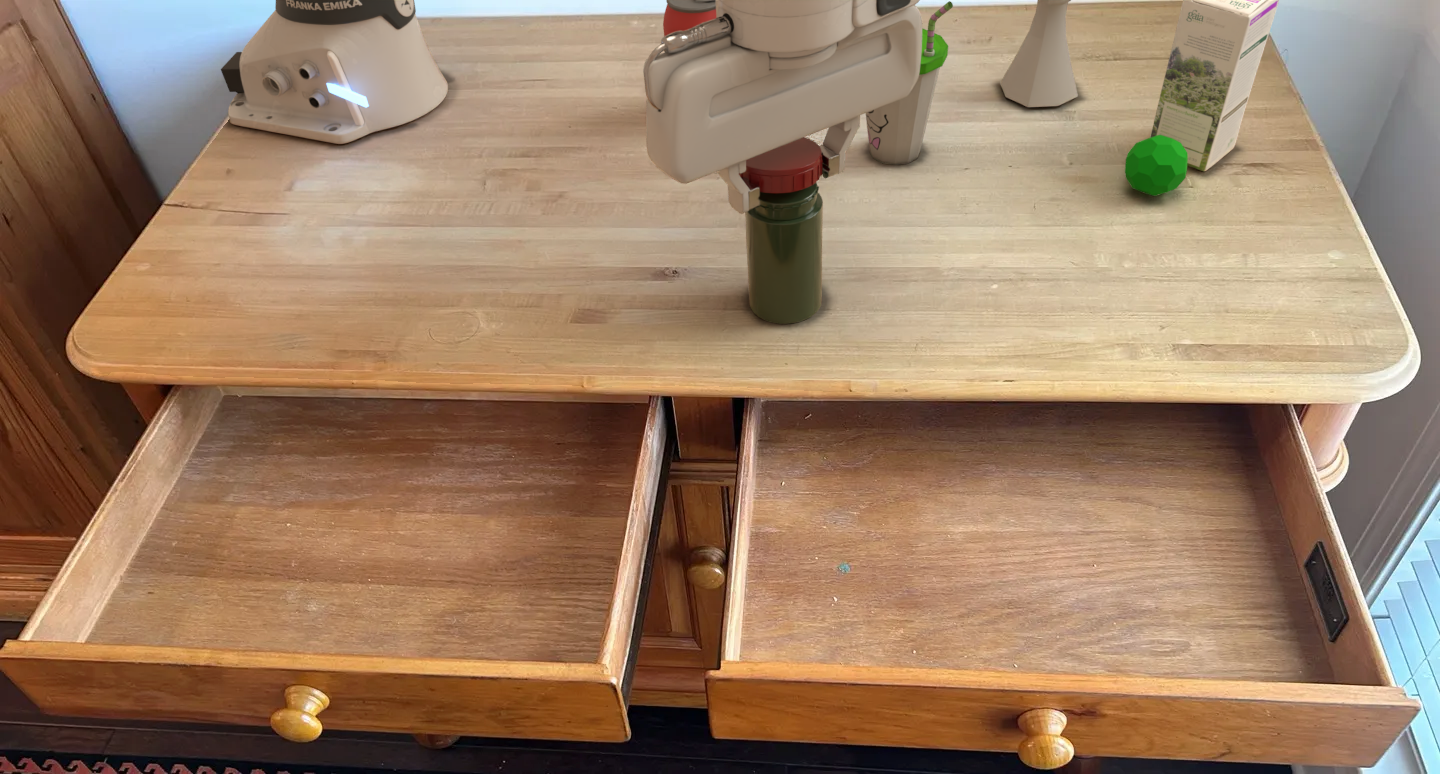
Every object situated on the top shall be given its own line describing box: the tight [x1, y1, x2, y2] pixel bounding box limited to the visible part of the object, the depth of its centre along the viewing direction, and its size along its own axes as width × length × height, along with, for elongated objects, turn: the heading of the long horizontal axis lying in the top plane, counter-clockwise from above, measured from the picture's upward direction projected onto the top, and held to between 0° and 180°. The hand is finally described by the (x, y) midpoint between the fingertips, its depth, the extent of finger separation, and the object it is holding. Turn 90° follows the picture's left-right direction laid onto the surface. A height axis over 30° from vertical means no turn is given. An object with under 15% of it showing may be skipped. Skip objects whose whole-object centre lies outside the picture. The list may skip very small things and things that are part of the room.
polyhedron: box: [1124, 135, 1188, 197], centre depth 89 cm, size 5×5×5 cm
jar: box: [744, 181, 824, 325], centre depth 78 cm, size 6×6×10 cm
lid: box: [739, 137, 823, 193], centre depth 74 cm, size 6×6×2 cm
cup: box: [865, 1, 954, 166], centre depth 92 cm, size 8×8×15 cm
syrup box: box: [1149, 0, 1280, 172], centre depth 90 cm, size 6×6×14 cm
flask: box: [999, 0, 1079, 108], centre depth 101 cm, size 7×7×10 cm
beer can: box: [662, 0, 716, 37], centre depth 100 cm, size 7×7×12 cm
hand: (788, 189), depth 74 cm, fingers closed on lid, 6 cm apart
